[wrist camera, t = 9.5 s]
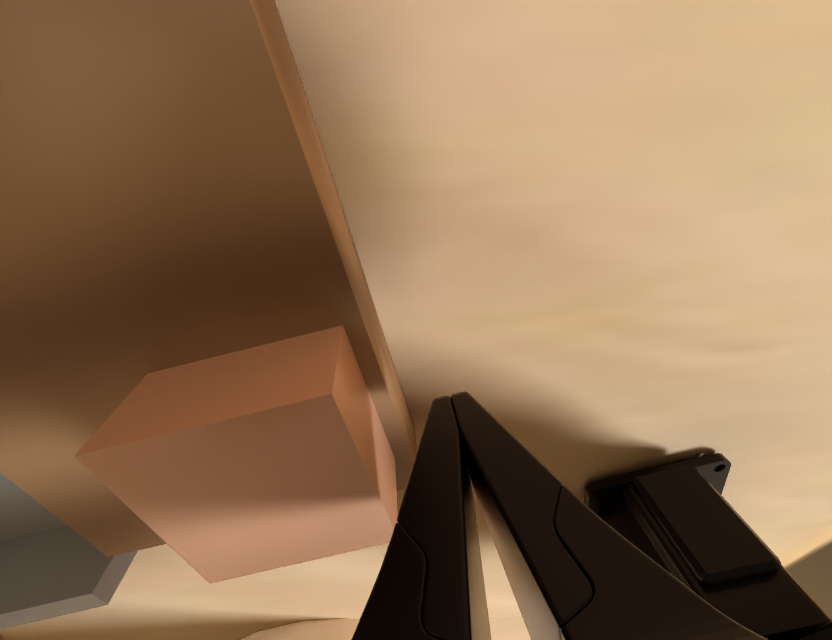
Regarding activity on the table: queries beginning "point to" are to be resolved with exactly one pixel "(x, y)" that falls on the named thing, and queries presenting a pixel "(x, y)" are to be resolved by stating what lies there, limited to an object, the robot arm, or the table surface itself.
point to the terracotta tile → (253, 457)
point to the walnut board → (157, 227)
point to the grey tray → (48, 563)
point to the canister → (310, 630)
